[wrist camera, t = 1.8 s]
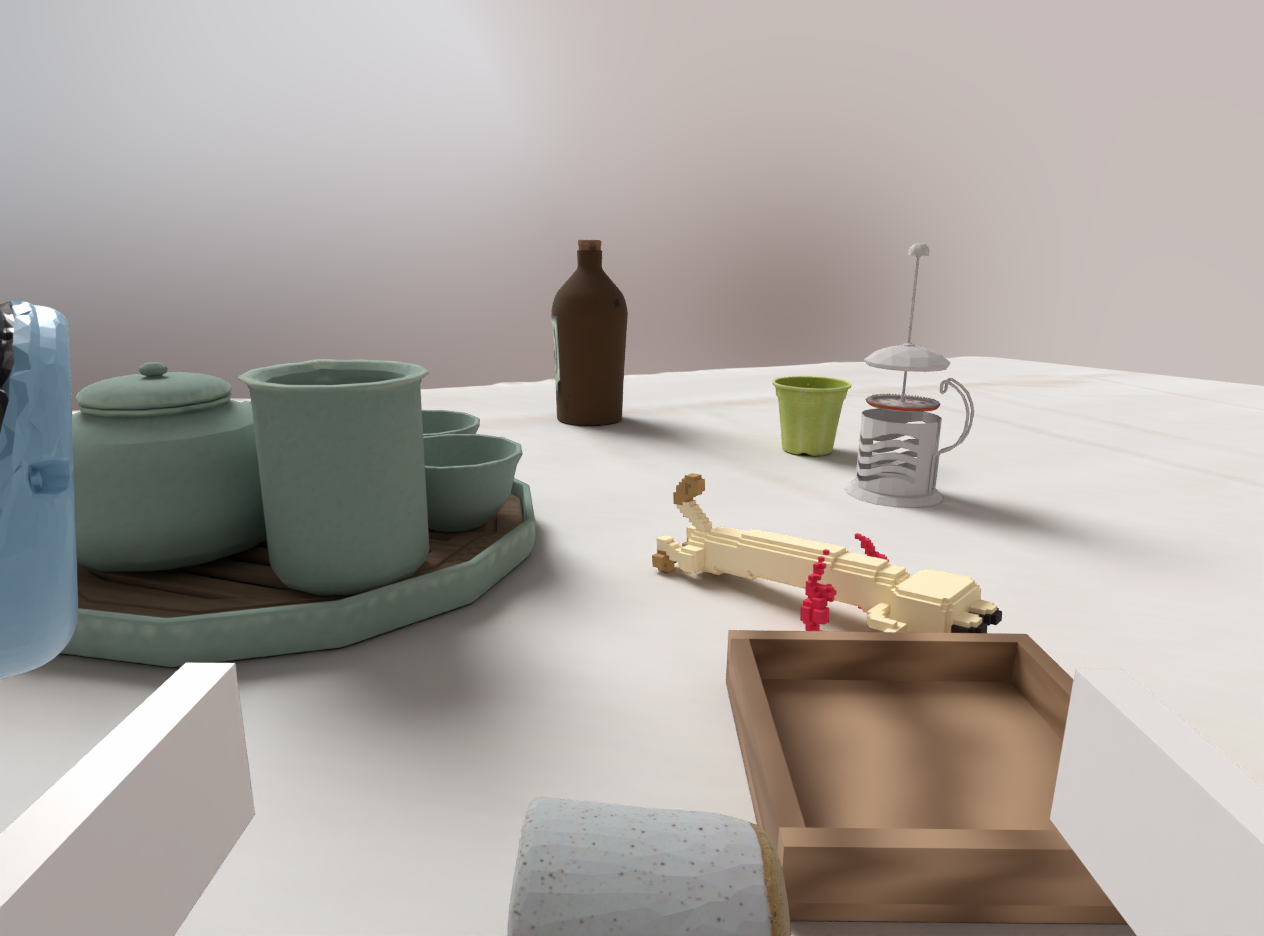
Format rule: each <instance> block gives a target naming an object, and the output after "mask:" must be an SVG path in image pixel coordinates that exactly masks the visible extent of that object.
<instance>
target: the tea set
mask: <svg viewBox="0 0 1264 936" xmlns="http://www.w3.org/2000/svg"><path fill="white" fill-rule="evenodd" d="M139 372H140V373H141V374H132V375H127V376H120V377H114V378H110V379H106V380H103V381H100V382H97V383H94V384H91V385H89V386H87V387H85V388H84V389H82V390H81V391H80V392H79V393H78V394H77V396H76V400H77V402H78V405H79V408H80V410H81V412H78V413H76V414H73V415H72V437H73V466H74V469H73V477H74V503H75V529H76V557H77V586H78V620H77V626H76V629H75V632H74V634H73V636H72V638H71V640H70V641H69V643H68V644H67V646H66V647H65V648H64V649H63V650H62V651H61V652H60V653H63V654H71V655H79V656H87V657H95V658H103V659H111V660H119V661H127V662H135V663H143V664H151V665H159V666H167V667H179V666H183V665H184V664H185V663H213V662H221V661H230V660H238V659H246V658H255V657H263V656H271V655H280V654H288V653H297V652H305V651H313V650H322V649H330V648H339V647H344V646H347V645H350V644H353V643H356V642H359V641H362V640H365V639H368V638H371V637H374V636H376V635H379V634H382V633H385V632H388V631H391V630H394V629H397V628H400V627H403V626H406V625H409V624H411V623H414V622H417V621H420V620H423V619H426V618H429V617H432V616H435V615H438V614H441V613H443V612H446V611H449V610H452V609H455V608H458V607H461V606H464V605H467V604H470V603H472V602H474V601H475V600H476V599H477V598H479V597H480V596H481V595H482V594H483V593H485V592H486V591H487V590H488V589H489V588H491V587H492V586H493V585H494V584H495V583H497V582H498V581H499V580H500V579H502V578H503V577H504V576H505V575H506V574H508V573H509V572H510V571H511V570H512V569H514V568H515V567H516V566H517V565H518V564H520V563H521V562H522V561H523V560H525V559H526V558H527V557H528V556H529V555H530V553H531V551H532V549H533V546H534V544H535V542H536V535H535V517H534V511H533V505H532V499H531V493H530V487H529V485H528V484H526V483H523V482H521V481H519V480H517V479H515V478H514V475H515V470H516V466H517V464H518V462H519V460H520V458H521V456H522V449H521V445H520V444H519V443H516V442H514V441H511V440H509V439H506V438H503V437H496V436H488V435H480V434H476V432H477V430H478V428H479V423H480V419H479V418H478V417H475V416H472V415H470V414H467V413H463V412H454V411H446V410H421V392H420V383H421V380H422V378H424V377H425V376H426V375H428V373H429V372H428V371H427V370H426V369H424V368H423V367H422V366H421V365H416V364H409V363H403V362H398V361H376V360H328V359H315V360H311V361H306V362H301V363H290V364H280V365H275V366H269V367H264V368H258V369H253V370H250V371H248V372H246V373H244V374H242V375H241V376H239V377H238V379H239V380H240V381H242V382H244V383H245V384H247V386H248V387H249V389H250V396H251V402H247V401H244V402H242V403H240V402H237V401H233V400H230V398H231V389H232V387H231V385H229V384H228V383H227V382H226V381H224V380H222V379H220V378H217V377H214V376H209V375H206V374H199V373H187V372H169V373H166V372H167V366H166V365H164V364H162V363H160V362H148V363H144V364H143V365H141V366H140V367H139Z"/></svg>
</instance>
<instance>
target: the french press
mask: <svg viewBox="0 0 1264 936" xmlns="http://www.w3.org/2000/svg"><path fill="white" fill-rule="evenodd" d="M908 255H916V257H917V262H916V271H915V281H914V290H913V299H912V309H911V318H910V327H909V337H908V343H905V344H903V345H901V346H893V347H887V348H884V349H881V350H878V351H875V352H874V353H872V354H871V355H870V356H868V357H867V358H866V359H864V360H865V362H866V364H867V365H869V366H872V367H876V368H882V369H889V370H899V371H905V373H904V383H903V392H902V395H901V396H900V394H898V396H897V394H895V395H894V394H892V395H891V394H886V395H885V394H883V395H882V394H878V395H879V396H878V395H877V394H876V395H872V396H869V397H868V398H867V399H866V401H867V403H868V404H870V405H871V406H873V407H875V408H880V409H869V410H865V411H863V412H862V419H861V429H860V439H859V450H858V460H857V470H856V479H854V480H852V481H851V482H850V483H849V484H848V485H847V486H846V487H845V488H844V489H845V491H846V492H847V493H848V494H849V495H851V496H853V497H855V498H857V499H859V500H862V501H866V502H870V503H874V504H878V505H885V506H892V507H912V508H917V507H926V506H933V505H935V504H938V503H940V502H942V499H943V496H942V495H941V494H940V493H939V491H938V490H937V489H936V488H935V486H936V478H937V470H938V463H939V455H940V454H942V453H945V452H948V451H950V450H952V449H953V448H955V447H956V446H958V445H959V444H961V443H962V442H963V441H964V440H965V438H966V437H967V435H968V434H969V431H970V429H971V426H972V421H973V416H974V407H973V402H972V399H971V397H970V394H969V392H968V391H967V390H966V389H965V388H964V387H963V386H962V385H961V384H960V383H959V382H957V381H956V380H954V379H953V378H948V379H947V380H944V381H942V382H941V383H940V393H941V394H944V393H945V392H946V391H947V388H948V384H949V385H951V386H952V387H954V388H955V389H956V390H957V391H958V392H959V394H960V395H961V396H962V398H963V401H964V404H965V407H966V413H967V415H966V422H965V427H964V431H963V433H962V435H961V436H960V438H959V439H958V441H957V443H956V444H954V445H953V446H950V447H946V448H943V449H941V450H940V451H939V452H938V446H939V437H940V429H941V420H942V418H941V417H939V416H938V415H935V414H932V413H927V412H924V411H933V410H936V409H938V407H939V406H940V403H939V402H938V401H936V400H935V399H930V398H928V399H927V398H925V397H923V398H922V397H920V398H919V396H918V397H916V395H915V397H913V395H912V396H910V395H908V396H906V394H905V385H906V376H907V371H921V372H927V371H941V370H946V368H947V367H948V366H949V365H950V362H949V361H948V360H947V359H945V358H944V357H943V356H941V355H939V354H938V353H936V352H934V351H931V350H930V349H928V348H924V347H919V346H915V345H914V344H912V343H910V339H911V330H912V320H913V311H914V302H915V291H916V283H917V274H918V265H919V257H920V256H921V255H922V256H923V255H925V256H928V255H929V248H928V247H927V245H926V244H922V243H917V244H914V245H913V246H911V247H910V248H909V254H908ZM950 381H953V382H954V383H956V384H957V385H959V386H960V387H961V388H962V389H963V391H964V392H965V393H966V395H967V397H968V400H969V402H970V407H971V416H970V424H969V426H968V421H969V407H968V403H967V401H966V398H965V396H964V394H963V393H962V392H961V391H960V390H959V389H958V387H957V386H955V385H954V384H952V383H951V382H950ZM944 383H945V389H944V391H943V385H944ZM904 394H905V396H904ZM881 395H882V396H881ZM913 421H923V422H925V423H927V424H906V423H908V422H913ZM967 428H968V429H967ZM966 430H967V431H966ZM884 434H886V435H884ZM904 435H907V436H911V437H913V438H916V439H908V440H905V441H900V440H892V439H895V438H898V437H901V436H904ZM873 440H875V441H882V442H879V443H875V444H873ZM886 440H887V441H886ZM917 445H918V446H917ZM899 448H905V449H909V450H911V451H906V452H903V453H896V452H895V453H883V454H879V455H876V456H872V452H877V453H882V452H889V451H893V450H896V449H899ZM871 456H872V457H871ZM914 457H917V459H916V458H914ZM896 460H900V461H905V462H906V463H903V464H900V465H886V466H879V467H876V468H870V466H871V463H872V464H884V463H890V462H893V461H896Z"/></svg>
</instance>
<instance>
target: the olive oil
mask: <svg viewBox="0 0 1264 936" xmlns="http://www.w3.org/2000/svg"><path fill="white" fill-rule="evenodd" d="M578 245H579V250H578V251H577V253H578V254H577V257H578V268H577V270H576V271H575V272H574V273H573V275H572V276H571V277H570V278H569V279H568V280H567V281H566V283H565V284H564V285H563V286H562V287H561V288H560V289H559V291H558V292H557V294H556V296H555V298H554V302H553V306H552V331H553V345H554V363H555V381H556V401H557V419H558V420H559V421H561V422H564V423H568V424H573V425H587V426H593V425H607V424H612V423H616V422H619V421H620V420H621V419H622V403H623V379H624V362H625V361H624V360H625V346H626V345H625V344H626V330H627V315H628V314H627V306H626V302H625V299H624V296H623V294H622V293H621V291H620V290H619V289H618V287H616V285H615V284H614V283H613V282H612V281H611V279H610V278H609V277H608V276H607V275H606V273H605V272H604V271H603V269H602V251H601V241H600V240H578Z"/></svg>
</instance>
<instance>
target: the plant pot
mask: <svg viewBox="0 0 1264 936" xmlns="http://www.w3.org/2000/svg"><path fill="white" fill-rule="evenodd" d="M772 383H773V385H774V386H775V388H776V395H777V397H778V401H779V412H780V424H781V437H782V448H783V450H785V451H786V452H789V453H792V454H796V455H797V454H801V453H807V454H809V455H812V456H819V455H826V454H829V453H831V451H832V449H833V445H834V440H835V436H836V431H837V426H838V421H839V417H840V413H841V408H842V404H843V401H844V399H845V398H846V394H847V390H848V389H849V388H851V383H850V382H848V381H845V380H840V379H835V378H826V377H813V376H792V377H782V378H777V379H774V380H773V381H772Z"/></svg>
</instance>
